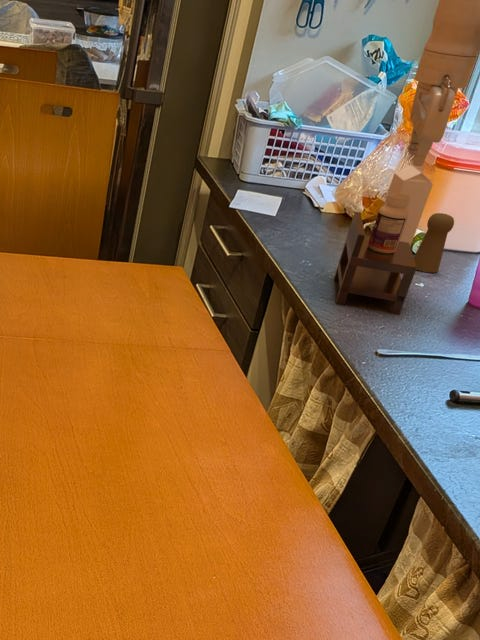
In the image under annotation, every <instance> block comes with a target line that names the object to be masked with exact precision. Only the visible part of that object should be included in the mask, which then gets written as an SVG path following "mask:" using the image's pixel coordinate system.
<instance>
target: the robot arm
mask: <svg viewBox="0 0 480 640" xmlns="http://www.w3.org/2000/svg"><path fill="white" fill-rule="evenodd" d="M479 54H480V0H439V1H438V3H437V6H436V9H435V13H434V15H433V20H432V29H431V32H430V35H429V37H428V39H427V41H426V43H425V45H424V47H423V50H422V54H421V56H420V59H419V63H418V67H417V69H416V71H415V75H414V78H413V79H414V81H416V82H417V85H416V89H415V94H414V97H413V100H412V105H411V109H410V116H409V117H410V119H409V120H410V122H411V124H412V126H413V127H412V131H411V136H410V142H409V144H408V148H407V152H408V154H409V155H413V158H412V162H413V165H414V166H419V167H421V166H423V164H425V161H426V159H427V156H428V154H429V153H430V151H431V149H432V147H433V144H434V143H435V144H436V143H437V144H438V143H440V142H441V141H442V139H443V137H444V135H445V133H446V129H447V126H448V123H449V120H450V116H451V113H452V110H453V106H454V103H455V98H456V96H457V93H458V90H459V89H464V88H467V87H468V84H469V81H470V79H471V76H472V73H473V70H474V67H475V65H476V62H477V59H478V57H479V56H478V55H479ZM412 162H411V163H412Z"/></svg>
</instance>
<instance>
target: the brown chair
mask: <svg viewBox="0 0 480 640" xmlns="http://www.w3.org/2000/svg"><path fill="white" fill-rule="evenodd" d="M353 213H354V214H353V217H352V219H351V224H350V226H349V229H348V233H347V235H346V238H345V241H344V245H343V248H342V251H341V254H340V257H339V260H338V263H337V266H336V270H335V273H334V275H333V281H337V282H338V286H339V289H338V293H337V296H336V299H335V304H336V305H339V306H345V304H346V301H347V298H348V295H349V294H351V295H357V296H363V297H369V298H374V299H381V300H385V301H391V302H392V303H391V307H390V309H389V314H391V315H395V316H400V314H401V311H402V308H403V306H404V303H405V300H406V297H407V295H408V292H409V289H410V287H411V284H412V281H413V279H414V276H415V273H416V268H417V267H416V264H415V261H414V255H413V251H412V246H411V247H410V244H409V243H407V242H401V241H399V244H398V247H397V249H396V251H395V252H394V253H390V254H387V253H380V252H376V251H373V250H371V249H370V248H369V247H368V243H369V240H370V237H371V235H366V232H365V228H364V222H363V217H362V216H363V215H362V212H361V211H354V212H353ZM400 273H401V274H402V275H401V274H400Z"/></svg>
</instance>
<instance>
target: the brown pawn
mask: <svg viewBox="0 0 480 640" xmlns="http://www.w3.org/2000/svg"><path fill="white" fill-rule="evenodd" d="M426 224H427V225H426V226H427V230H426V232H425V233H424V237H422V240H421V242H420V244H419V246H418V248H417V250H416V252H415V254H414V255H413V257H414V261H415V264H416V267H417V268H416V270H417V271H419V272H425V273H438V272H439V269H440V266H441V263H442V258H443V254H444V250H445V245H446V241H447V238H448V234H449V233H450V232H451V231H452V230H453V228H454V225H455V219H454V217H453V216H452V215H450V214H447V213H442V212H441V213H440V212H436V213H432V215H430V216H429V218H428V219H427V223H426Z"/></svg>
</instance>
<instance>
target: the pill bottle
mask: <svg viewBox="0 0 480 640" xmlns="http://www.w3.org/2000/svg"><path fill="white" fill-rule="evenodd" d="M387 194H388V193H387ZM386 197H387V196H386ZM385 200H386V199H385ZM409 200H410V197H409V196H407V195H404V194H400V193H389V194H388V197H387V200H386V203H387V204H386V205H384V204H383V205H382V206H381V207H380V208H379V210H378V212H377V215H376V218H375V222H374V225H373V228H372V231H371V234H370V236H371V237H370V240H369V243H368V247H369V248H370V249H371V250H373V251H376V252H380V253H387V254H390V253H394V252H395V251H396V249H397V247H398V244H399V241H400V238H401V235H402V232H403V229H404V226H405V224H406V221H407V218H408V214H409V213H408V210H407V209H406V206H408V204H409Z"/></svg>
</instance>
